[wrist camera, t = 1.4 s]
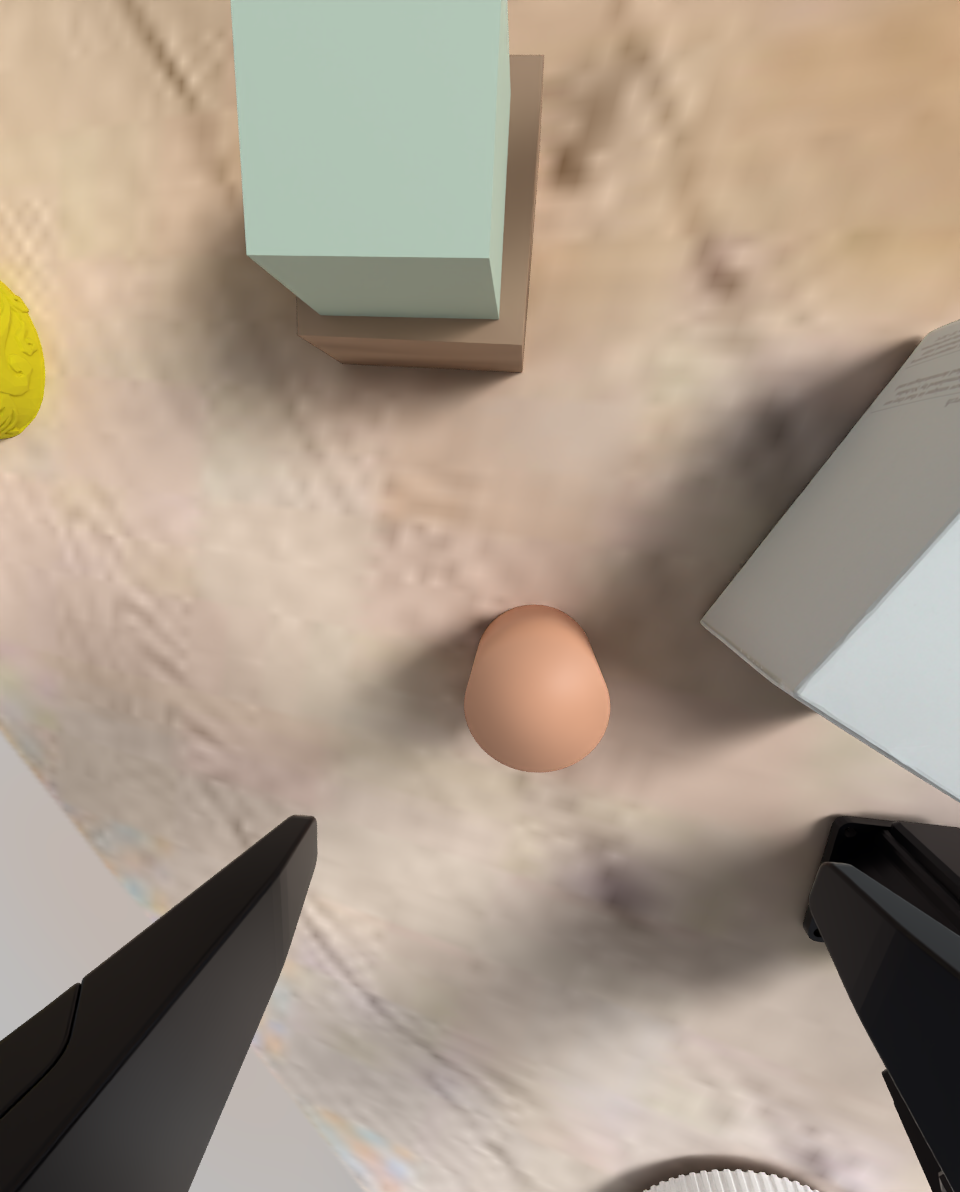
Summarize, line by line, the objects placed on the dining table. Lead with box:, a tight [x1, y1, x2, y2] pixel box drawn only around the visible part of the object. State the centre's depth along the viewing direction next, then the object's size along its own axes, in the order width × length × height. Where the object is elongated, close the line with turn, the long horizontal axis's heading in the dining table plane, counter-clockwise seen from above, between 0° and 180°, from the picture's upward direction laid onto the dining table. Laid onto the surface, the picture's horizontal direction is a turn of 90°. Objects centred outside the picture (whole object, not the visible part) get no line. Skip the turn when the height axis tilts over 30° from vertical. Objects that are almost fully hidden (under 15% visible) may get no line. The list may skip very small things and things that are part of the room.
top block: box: [231, 0, 511, 319], centre depth 12 cm, size 6×6×4 cm
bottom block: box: [296, 55, 544, 372], centre depth 16 cm, size 7×7×4 cm
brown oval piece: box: [464, 605, 610, 772], centre depth 18 cm, size 5×5×4 cm
